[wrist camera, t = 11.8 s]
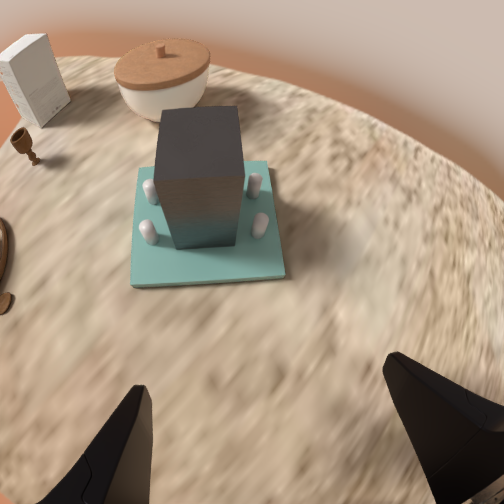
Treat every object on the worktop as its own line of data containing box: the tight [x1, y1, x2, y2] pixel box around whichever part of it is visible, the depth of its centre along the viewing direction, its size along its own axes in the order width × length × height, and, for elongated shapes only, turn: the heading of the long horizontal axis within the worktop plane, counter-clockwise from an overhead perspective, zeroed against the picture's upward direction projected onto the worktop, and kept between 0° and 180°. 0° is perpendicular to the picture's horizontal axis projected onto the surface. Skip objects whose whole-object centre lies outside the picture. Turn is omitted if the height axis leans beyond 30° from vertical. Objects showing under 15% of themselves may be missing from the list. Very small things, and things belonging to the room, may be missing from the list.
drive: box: [153, 106, 245, 250], centre depth 20 cm, size 6×5×10 cm
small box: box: [0, 34, 71, 128], centre depth 24 cm, size 8×6×13 cm
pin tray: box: [130, 161, 285, 288], centre depth 24 cm, size 12×13×4 cm
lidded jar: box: [114, 39, 210, 123], centre depth 27 cm, size 11×11×9 cm
